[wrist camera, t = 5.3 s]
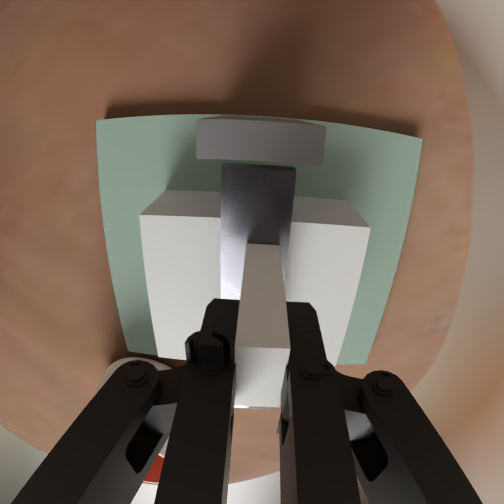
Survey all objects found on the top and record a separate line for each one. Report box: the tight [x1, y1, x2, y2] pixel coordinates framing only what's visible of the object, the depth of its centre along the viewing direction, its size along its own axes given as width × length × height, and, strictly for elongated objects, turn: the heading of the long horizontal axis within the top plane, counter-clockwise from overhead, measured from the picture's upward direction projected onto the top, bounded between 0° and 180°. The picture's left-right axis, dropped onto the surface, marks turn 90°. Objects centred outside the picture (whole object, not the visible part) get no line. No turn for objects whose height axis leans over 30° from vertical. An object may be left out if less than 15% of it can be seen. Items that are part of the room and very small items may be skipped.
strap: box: [221, 163, 297, 410], centre depth 17 cm, size 4×17×1 cm, turn 177°
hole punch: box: [96, 114, 422, 366], centre depth 19 cm, size 22×20×9 cm
